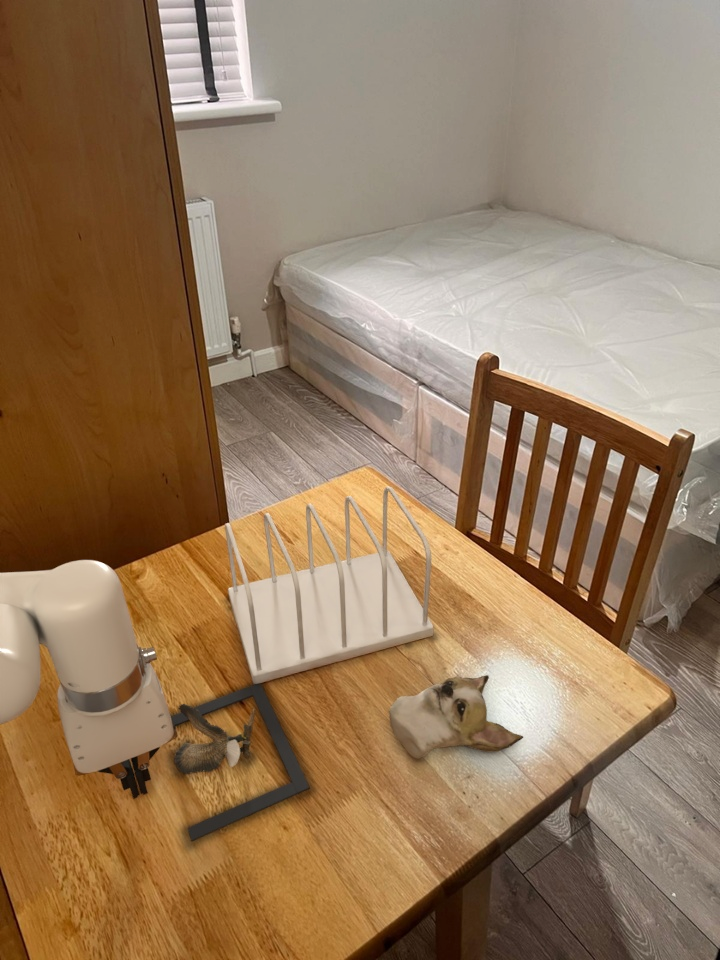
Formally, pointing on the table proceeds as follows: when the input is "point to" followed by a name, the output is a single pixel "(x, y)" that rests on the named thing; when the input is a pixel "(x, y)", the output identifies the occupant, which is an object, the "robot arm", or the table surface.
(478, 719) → the ceramic sculpture
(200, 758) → the eagle figurine
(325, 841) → the table surface
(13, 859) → the table surface
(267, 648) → the file sorter
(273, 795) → the frame
